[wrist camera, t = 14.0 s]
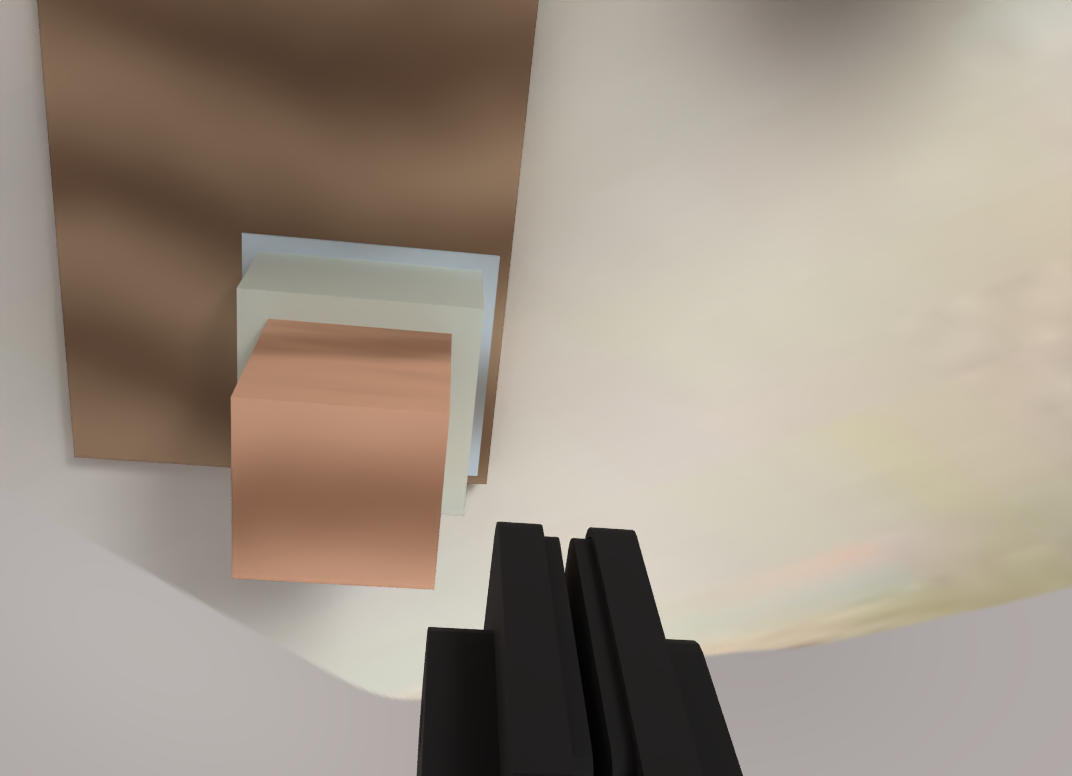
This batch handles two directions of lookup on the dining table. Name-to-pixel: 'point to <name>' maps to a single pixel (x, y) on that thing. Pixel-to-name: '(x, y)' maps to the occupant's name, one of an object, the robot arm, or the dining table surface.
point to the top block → (340, 455)
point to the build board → (264, 183)
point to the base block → (377, 322)
